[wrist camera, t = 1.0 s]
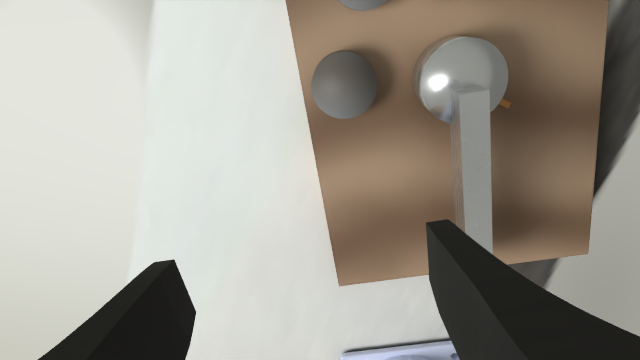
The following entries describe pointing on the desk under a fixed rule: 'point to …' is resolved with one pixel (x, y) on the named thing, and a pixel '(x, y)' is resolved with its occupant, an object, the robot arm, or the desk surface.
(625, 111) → the desk surface
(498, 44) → the brown flat board
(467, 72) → the door lever handle
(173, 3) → the desk surface
